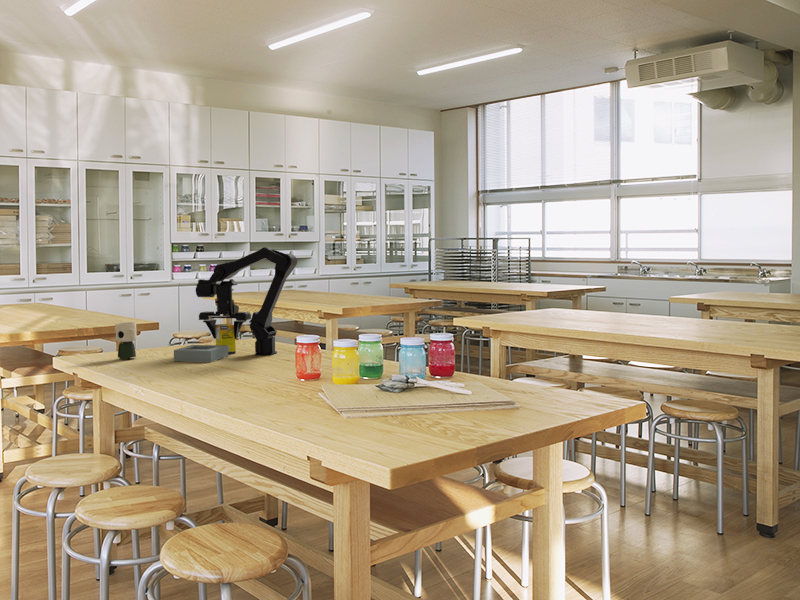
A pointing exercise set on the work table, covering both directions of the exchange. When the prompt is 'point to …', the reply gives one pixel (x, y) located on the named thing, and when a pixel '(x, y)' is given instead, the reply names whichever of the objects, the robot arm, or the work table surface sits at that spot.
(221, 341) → the supplement box
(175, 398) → the work table surface
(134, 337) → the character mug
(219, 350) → the block
